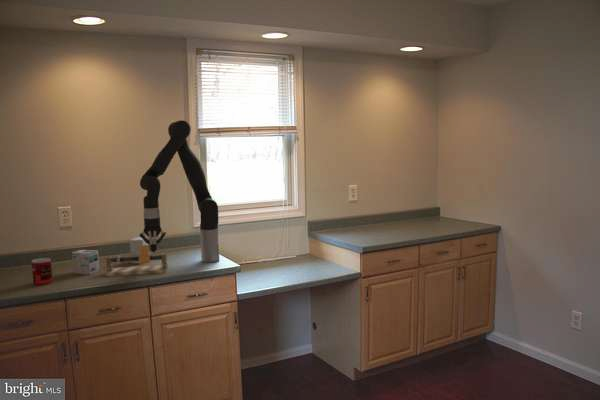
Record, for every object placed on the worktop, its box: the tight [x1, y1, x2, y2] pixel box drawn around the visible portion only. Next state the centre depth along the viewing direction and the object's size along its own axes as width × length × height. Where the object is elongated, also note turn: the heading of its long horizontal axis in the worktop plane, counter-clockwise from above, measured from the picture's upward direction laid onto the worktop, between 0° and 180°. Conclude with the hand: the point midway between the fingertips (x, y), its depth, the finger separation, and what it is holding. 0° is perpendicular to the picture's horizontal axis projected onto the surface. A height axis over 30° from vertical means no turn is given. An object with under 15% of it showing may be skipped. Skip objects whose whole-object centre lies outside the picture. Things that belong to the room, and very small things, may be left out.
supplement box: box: [128, 236, 149, 264], centre depth 260 cm, size 7×7×13 cm
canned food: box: [31, 257, 54, 286], centre depth 224 cm, size 8×8×11 cm
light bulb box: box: [71, 249, 101, 276], centre depth 241 cm, size 11×7×11 cm, turn 71°
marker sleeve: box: [138, 244, 152, 265], centre depth 241 cm, size 5×4×9 cm
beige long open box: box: [105, 253, 169, 277], centre depth 241 cm, size 28×10×8 cm, turn 99°
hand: (153, 251), depth 242 cm, fingers closed
